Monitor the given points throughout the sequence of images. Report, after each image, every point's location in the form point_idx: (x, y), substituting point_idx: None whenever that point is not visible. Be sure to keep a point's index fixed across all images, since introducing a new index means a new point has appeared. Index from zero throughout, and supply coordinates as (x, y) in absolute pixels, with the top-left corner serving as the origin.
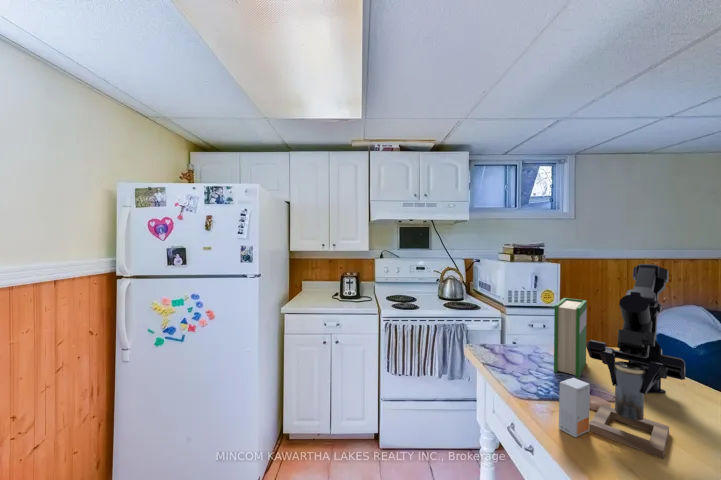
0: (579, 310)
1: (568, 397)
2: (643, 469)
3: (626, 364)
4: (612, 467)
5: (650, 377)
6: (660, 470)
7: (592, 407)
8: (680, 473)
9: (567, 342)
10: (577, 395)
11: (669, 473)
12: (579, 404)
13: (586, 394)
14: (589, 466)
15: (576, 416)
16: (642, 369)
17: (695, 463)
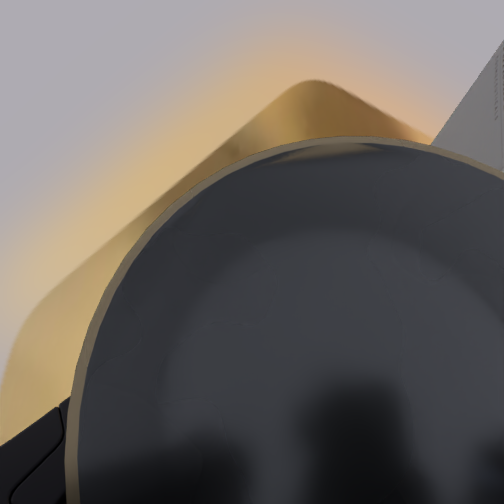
0: None
1: None
2: (205, 177)
3: (481, 446)
4: (271, 129)
5: (48, 428)
6: (165, 207)
7: None
8: (116, 234)
9: None
10: (492, 59)
11: (144, 210)
12: (457, 121)
13: (479, 147)
14: (314, 95)
15: (431, 143)
16: (121, 334)
17: (62, 340)
